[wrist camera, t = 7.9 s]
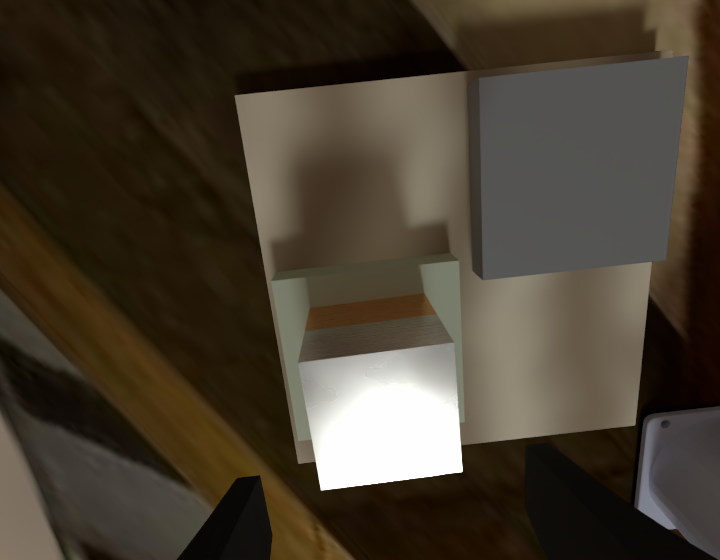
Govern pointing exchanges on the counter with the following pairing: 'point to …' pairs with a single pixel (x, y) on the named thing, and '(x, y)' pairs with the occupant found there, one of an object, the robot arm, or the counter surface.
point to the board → (442, 246)
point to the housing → (380, 391)
